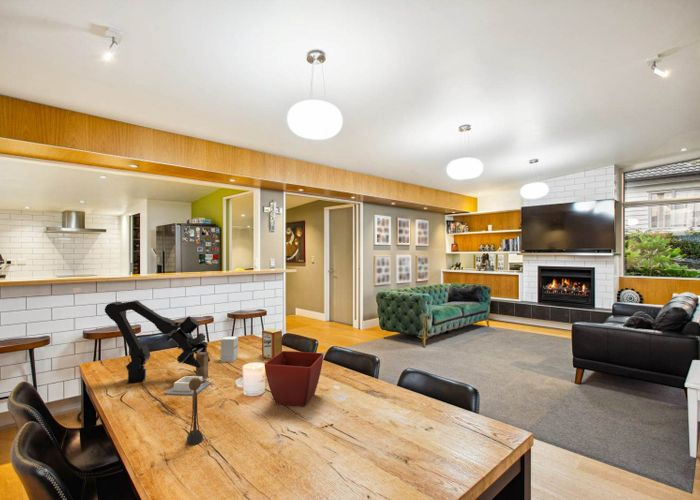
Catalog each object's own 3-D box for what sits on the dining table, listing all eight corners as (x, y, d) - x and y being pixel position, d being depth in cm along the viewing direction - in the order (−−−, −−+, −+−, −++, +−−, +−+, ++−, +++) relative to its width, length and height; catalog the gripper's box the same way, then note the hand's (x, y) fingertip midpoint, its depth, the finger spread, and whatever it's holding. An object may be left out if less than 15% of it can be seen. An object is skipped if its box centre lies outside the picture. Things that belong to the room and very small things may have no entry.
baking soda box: (281, 357, 200) (281, 330, 200) (273, 360, 195) (273, 332, 195) (270, 355, 206) (270, 328, 206) (262, 357, 200) (262, 329, 201)
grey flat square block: (163, 394, 148) (163, 385, 148) (182, 382, 162) (182, 373, 162) (195, 395, 146) (195, 386, 146) (211, 383, 160) (211, 374, 160)
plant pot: (310, 411, 131) (310, 367, 131) (263, 407, 135) (263, 363, 135) (324, 392, 150) (324, 353, 150) (282, 388, 154) (282, 350, 154)
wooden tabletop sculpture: (200, 434, 115) (200, 373, 115) (208, 438, 112) (209, 376, 112) (183, 442, 110) (183, 378, 110) (191, 446, 107) (191, 381, 108)
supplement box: (233, 362, 192) (233, 339, 192) (220, 362, 192) (220, 339, 192) (238, 358, 199) (238, 336, 200) (225, 358, 200) (225, 336, 200)
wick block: (196, 379, 165) (196, 354, 165) (200, 376, 169) (200, 352, 169) (204, 379, 165) (204, 354, 165) (208, 377, 169) (208, 352, 169)
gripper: (183, 333, 158) (206, 358, 157) (203, 325, 177) (224, 347, 176) (166, 350, 159) (190, 375, 158) (189, 340, 177) (209, 362, 176)
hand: (204, 364), depth 167 cm, fingers open, 9 cm apart
